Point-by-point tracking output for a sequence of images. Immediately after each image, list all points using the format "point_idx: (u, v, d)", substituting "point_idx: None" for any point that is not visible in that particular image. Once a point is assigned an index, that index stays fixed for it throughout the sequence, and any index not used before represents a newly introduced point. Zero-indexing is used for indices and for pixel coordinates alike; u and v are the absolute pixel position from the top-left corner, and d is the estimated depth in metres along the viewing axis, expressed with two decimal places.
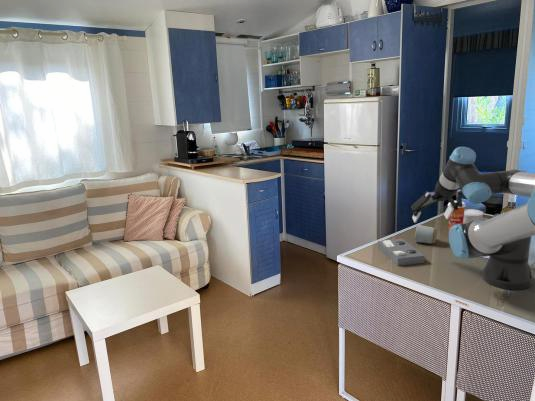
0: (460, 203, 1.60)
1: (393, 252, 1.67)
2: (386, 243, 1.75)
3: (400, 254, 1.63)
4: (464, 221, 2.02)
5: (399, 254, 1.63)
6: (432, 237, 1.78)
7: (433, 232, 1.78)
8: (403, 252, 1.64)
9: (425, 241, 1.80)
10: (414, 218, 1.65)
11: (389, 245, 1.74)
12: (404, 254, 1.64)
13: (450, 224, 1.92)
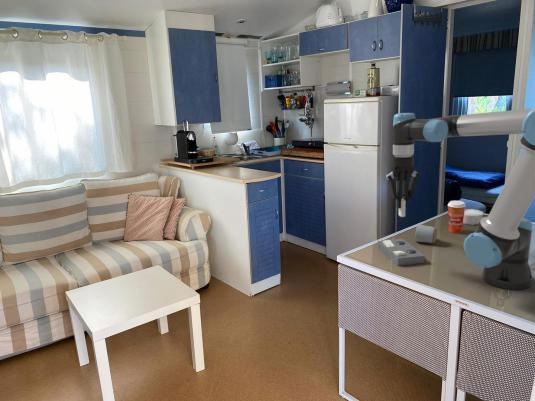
0: (412, 191, 1.57)
1: (393, 252, 1.67)
2: (386, 243, 1.75)
3: (400, 254, 1.63)
4: (464, 221, 2.02)
5: (399, 254, 1.63)
6: (432, 237, 1.78)
7: (433, 232, 1.78)
8: (403, 252, 1.64)
9: (425, 241, 1.80)
10: (400, 212, 1.59)
11: (389, 245, 1.74)
12: (404, 254, 1.64)
13: (450, 224, 1.92)
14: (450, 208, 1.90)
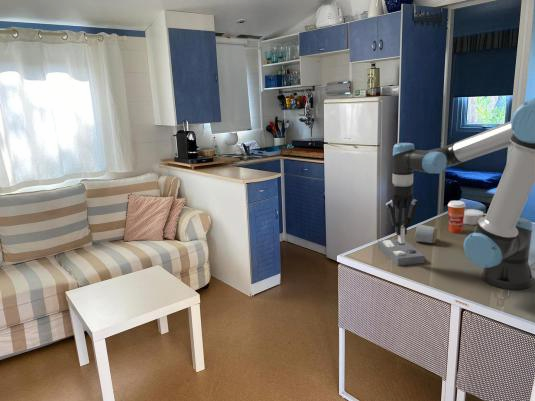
0: (411, 218, 1.59)
1: (393, 252, 1.67)
2: (386, 243, 1.75)
3: (400, 254, 1.63)
4: (464, 221, 2.02)
5: (399, 254, 1.63)
6: (432, 236, 1.78)
7: (433, 231, 1.78)
8: (403, 252, 1.64)
9: (425, 240, 1.81)
10: (399, 239, 1.62)
11: (389, 245, 1.74)
12: (404, 254, 1.64)
13: (450, 224, 1.92)
14: (450, 208, 1.90)
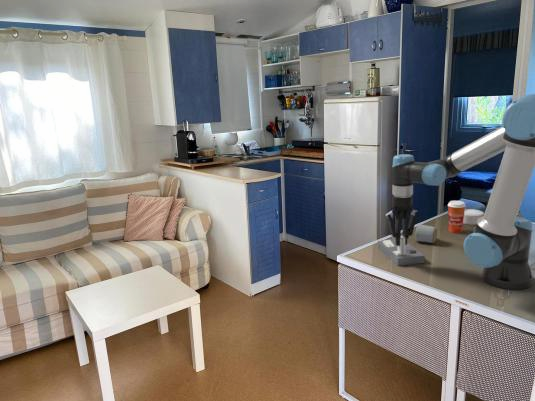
0: (412, 229, 1.60)
1: (393, 252, 1.67)
2: (386, 243, 1.75)
3: (400, 254, 1.63)
4: (464, 221, 2.02)
5: (399, 254, 1.63)
6: (432, 236, 1.78)
7: (433, 231, 1.79)
8: None
9: (425, 240, 1.81)
10: (399, 250, 1.63)
11: (389, 245, 1.74)
12: (404, 254, 1.64)
13: (450, 224, 1.92)
14: (450, 208, 1.90)
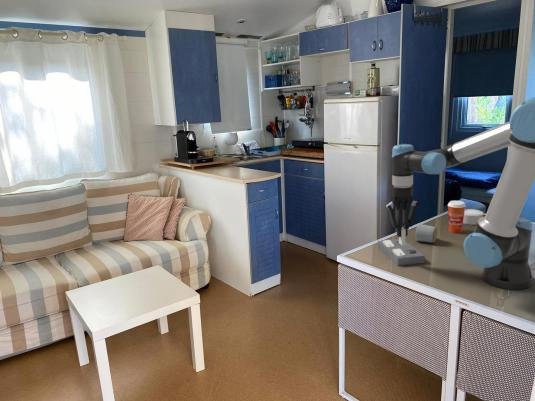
0: (412, 220, 1.59)
1: (393, 251, 1.67)
2: (386, 243, 1.75)
3: None
4: (464, 221, 2.02)
5: None
6: (432, 236, 1.79)
7: (433, 231, 1.79)
8: (403, 254, 1.64)
9: (425, 240, 1.81)
10: (400, 241, 1.62)
11: (389, 245, 1.74)
12: None
13: (450, 224, 1.92)
14: (450, 208, 1.90)
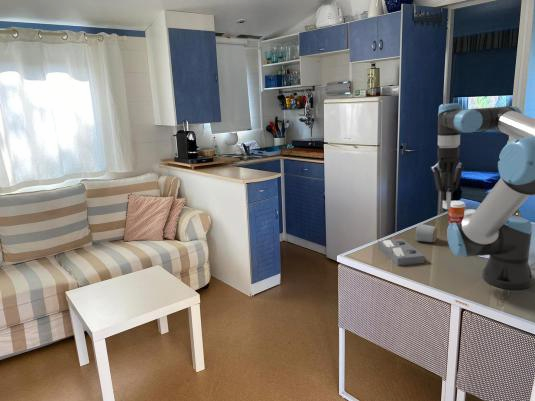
0: (457, 182, 1.55)
1: (393, 250, 1.67)
2: (386, 243, 1.75)
3: None
4: None
5: None
6: (432, 236, 1.79)
7: (433, 231, 1.79)
8: (403, 255, 1.64)
9: (425, 240, 1.81)
10: (445, 205, 1.57)
11: (389, 245, 1.74)
12: None
13: None
14: (450, 208, 1.90)
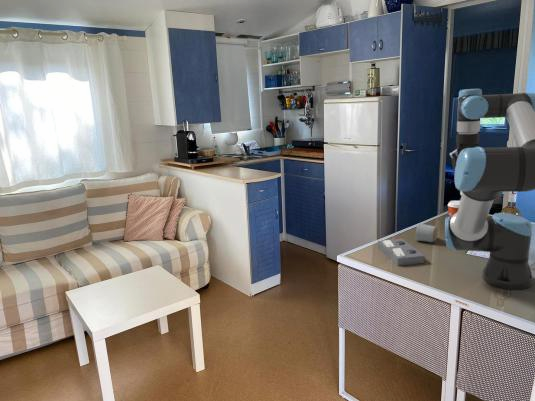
0: None
1: (393, 250, 1.67)
2: (386, 243, 1.75)
3: None
4: None
5: None
6: (432, 236, 1.79)
7: (433, 231, 1.79)
8: (403, 255, 1.64)
9: (426, 239, 1.82)
10: (462, 192, 1.56)
11: (389, 245, 1.74)
12: None
13: None
14: (450, 208, 1.90)
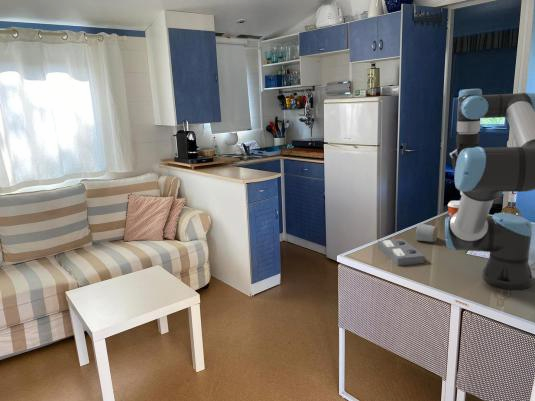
0: None
1: (393, 251, 1.67)
2: (386, 243, 1.75)
3: None
4: None
5: None
6: (432, 235, 1.79)
7: (433, 230, 1.80)
8: (403, 254, 1.64)
9: (426, 239, 1.82)
10: (462, 192, 1.56)
11: (389, 245, 1.74)
12: None
13: None
14: (450, 208, 1.90)
